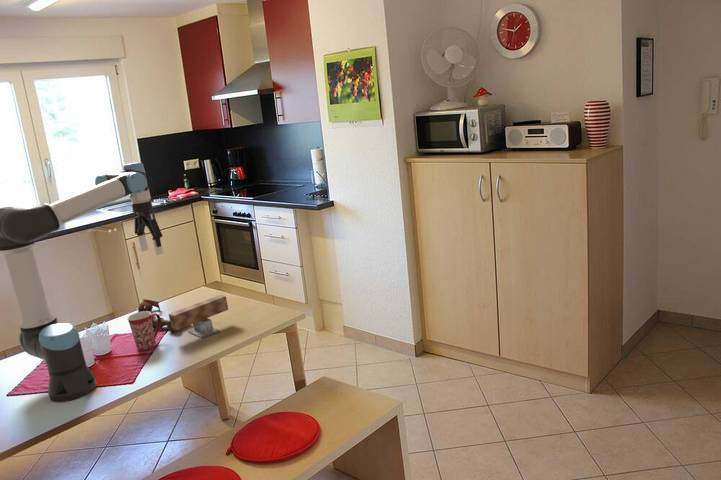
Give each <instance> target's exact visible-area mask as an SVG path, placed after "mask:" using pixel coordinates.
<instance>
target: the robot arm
mask: <svg viewBox="0 0 721 480" xmlns="http://www.w3.org/2000/svg"><path fill="white" fill-rule="evenodd" d="M94 184H95V185H93V186H91V187H89V188H87V189H84V190H82V191H79V192H76V193H75V194H72V195H70V196H67V197H65V198H62V199H59V200H57V201H55V202H52V203H50V204H49V203H42V204H39V205H35V206H32V207H13V206H4V207H0V253H1V254H3V256H4V258H5V259H4V260H5V262H6V267H7V269H8V272H9V276H10V279H11V280H10V281H11V283H12V286H13V291H14V294H15V297H16V301H17V304H18V307H19V311H20V314H21V318H22V320H21V322H20V323H19V329H20V333H19V335H18V343H19V346H20V348H21V349H22V350H23V351H24V352H26V353H27V354H28V355H29V356H32V357H34V358H37V359H41V360H43V361H44V362H45V364H46V368H47V372H48V375H49V379H48V388H47V394H48V397H49V398H48V399H49V400H50V401H52V402H55V403H61V402H67V401H72V400H75V399H78V398H79V399H80V398H82V397H83V396H85V395H87V394H89V393H91V392H92V391H94V389H95V388H96V387H97V385H98V383H97V380H96V377H95V376H94V374H93V372H92V371H91V370H90V368H89V367H88V365H87V362H86V359H85V356H84V355H85V354H84V351H83V347H82V342H81V339H80V333H79V332H78V329H77V326H76V325H74V324H73V323H68V322H63V323H62V322H60V323H59V322H58V319H57V316H56V314H54V313H52V312H50V308H49V304H48V301H47V297H46V294H45V291H44V286H43V282H42V279H41V275H40V272H39V268H38V265H37V261H36V256H35V254H34V249H33V248H34V246H35V245H36V244H37V242H36V241H38V240H39V239H41V238H43V237H45V236H47V235H49V234H52V233H54V232H56V231H58V230H60V228H61V226H62V225H65V224H67V223H69V222H71V221H73V220H75V219H78V218H80V217H81V216H84V215H87V214H89V213H91V212H93V211H96V210H97V209H100V208H103V207H104V206H106V205H109V204H111V203H114V202H115V201H117V200H121V199H122V198H125V197H129V198H130V202H131V208H132V212H133V217H134V234H135V235H136V237H138V241H139V246H140V251H141V252H145V251H149V247H148V242H147V238H146V232H145V230H146V229H145V228H146V227H147V229H148V230H149V233H150V234H151V236H152V241H153V247H154V253H155V256H160V255H163V254H164V251H163V245H162V240H161V238H162V237H163V234H162V231H161V229H160V226H159V224H158V221H157V220H156V216H155V213H151V212H150V211H152V210H153V209H154V207H153V203H152V200H151V199H152V198H151V192H150V188H149V184H148V179H147V173H146V171H145V167H144V164H143V163H142V162H140V161H136V162H130V163H125V164H123V168H122V170H118V171H113V172H107V173H102V174H99V175H97V176H95V180H94Z"/></svg>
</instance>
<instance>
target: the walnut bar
mask: <svg viewBox="0 0 721 480" xmlns="http://www.w3.org/2000/svg"><path fill="white" fill-rule="evenodd" d="M228 305H229V304H228V299H227V296H226V295H223V294H219V295H216V296H214V297H211V298H208V299H205V300H203V301H200V302H197V303H195V304H192V305H189V306H187V307H186V306H185V307H184V308H181V309H179V310H178V309H177V310H176V311H173V312H170V313H168V318H169V321H170V323H171V328H173V329H175V330H178V329H179V330H180V329H182V328H185V327H188V326H191V325H193V323H196V322H198V321H201V320H203V319H206V318H208V319H209V318H210V317H214V316H216V315H220V314H221V313H224V312H226V311H228V310H229V306H228ZM179 330H178V331H179Z"/></svg>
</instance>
